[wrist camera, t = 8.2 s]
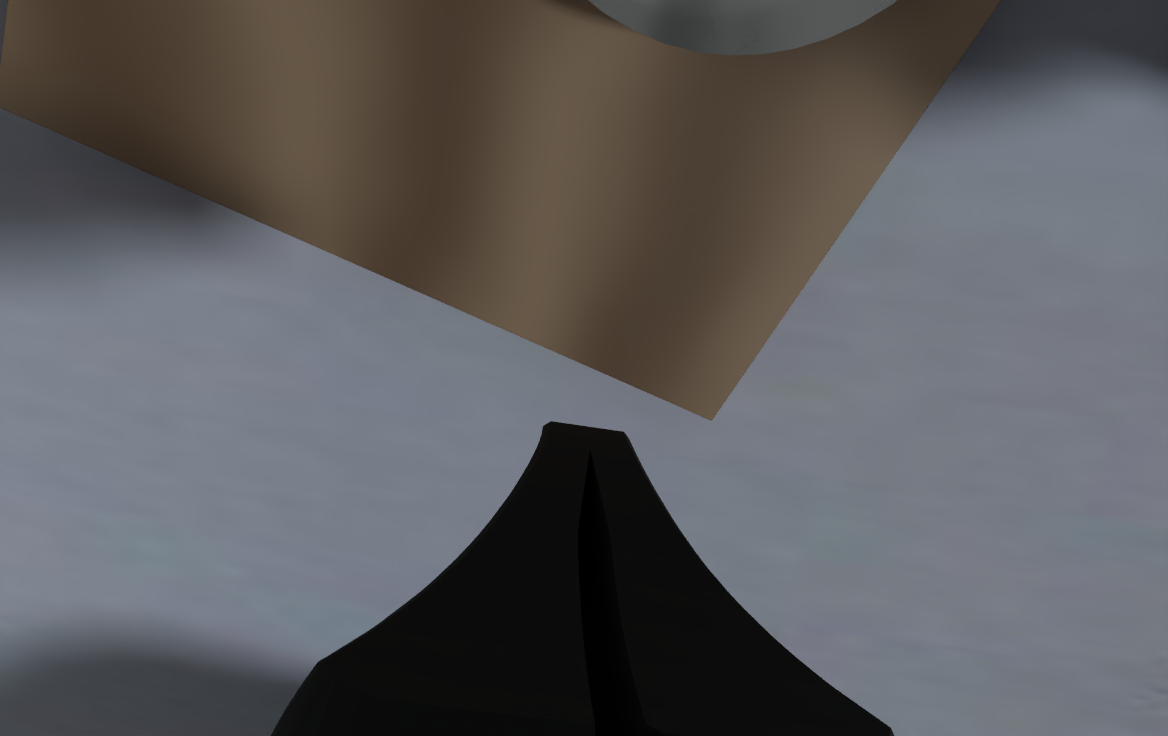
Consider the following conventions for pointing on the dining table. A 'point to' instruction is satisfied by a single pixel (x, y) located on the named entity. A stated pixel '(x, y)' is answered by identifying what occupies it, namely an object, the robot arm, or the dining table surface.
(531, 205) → the dial board
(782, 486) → the dining table surface
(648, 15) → the dial
